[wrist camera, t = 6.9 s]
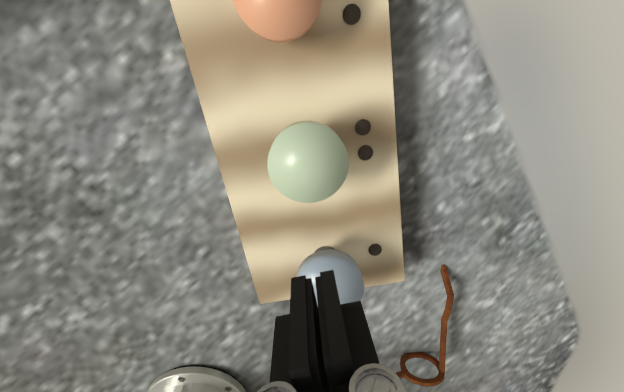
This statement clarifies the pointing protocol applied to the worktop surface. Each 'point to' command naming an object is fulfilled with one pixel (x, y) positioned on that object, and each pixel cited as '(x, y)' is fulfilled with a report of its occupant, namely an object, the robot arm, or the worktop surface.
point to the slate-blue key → (335, 273)
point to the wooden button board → (293, 108)
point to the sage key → (307, 162)
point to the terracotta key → (278, 17)
